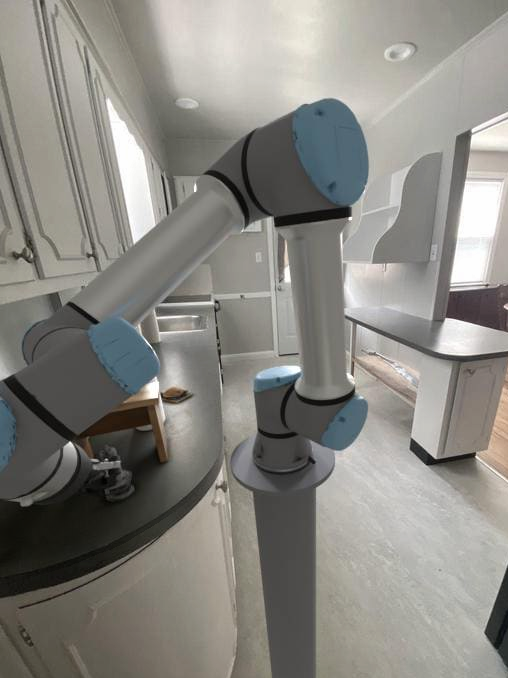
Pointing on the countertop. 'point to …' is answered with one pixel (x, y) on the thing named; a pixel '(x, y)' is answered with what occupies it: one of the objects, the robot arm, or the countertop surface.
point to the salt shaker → (118, 478)
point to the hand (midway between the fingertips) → (104, 488)
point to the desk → (131, 420)
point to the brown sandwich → (175, 394)
